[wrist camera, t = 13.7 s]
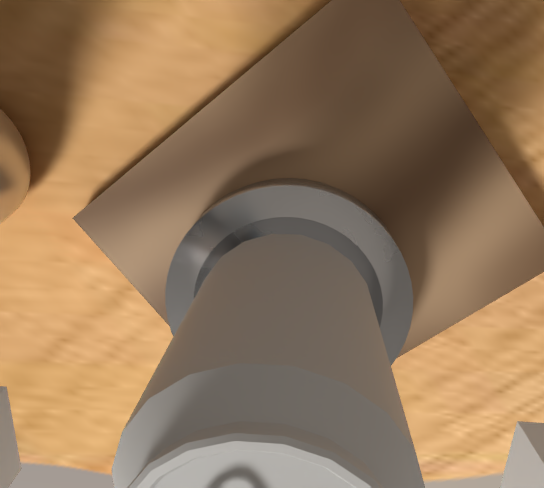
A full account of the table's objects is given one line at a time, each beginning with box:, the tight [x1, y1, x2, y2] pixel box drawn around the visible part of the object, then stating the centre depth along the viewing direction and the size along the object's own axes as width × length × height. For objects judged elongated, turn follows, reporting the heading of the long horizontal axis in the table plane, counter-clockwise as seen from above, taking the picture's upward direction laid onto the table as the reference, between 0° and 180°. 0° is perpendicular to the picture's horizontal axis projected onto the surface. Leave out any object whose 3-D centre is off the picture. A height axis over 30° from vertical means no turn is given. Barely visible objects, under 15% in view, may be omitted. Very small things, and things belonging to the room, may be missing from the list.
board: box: [73, 0, 544, 358], centre depth 22 cm, size 15×17×1 cm
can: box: [112, 234, 425, 488], centre depth 15 cm, size 8×8×12 cm
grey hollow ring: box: [165, 178, 413, 365], centre depth 22 cm, size 11×11×2 cm
